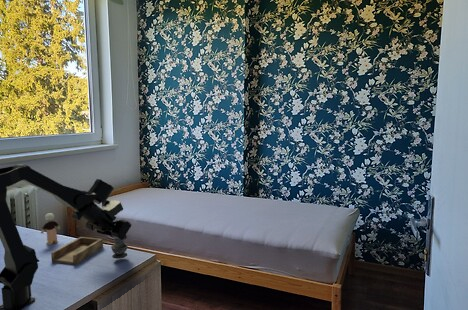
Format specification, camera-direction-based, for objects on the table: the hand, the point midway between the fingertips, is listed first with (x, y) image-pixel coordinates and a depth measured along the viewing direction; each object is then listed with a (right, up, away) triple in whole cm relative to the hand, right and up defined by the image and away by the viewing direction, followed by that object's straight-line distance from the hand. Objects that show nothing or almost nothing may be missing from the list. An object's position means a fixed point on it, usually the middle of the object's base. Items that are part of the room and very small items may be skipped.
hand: (122, 236), depth 127 cm
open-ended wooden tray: (-18, -8, +5) cm, 20 cm away
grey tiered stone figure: (-1, -7, 0) cm, 7 cm away
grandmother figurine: (-34, -6, +15) cm, 38 cm away
